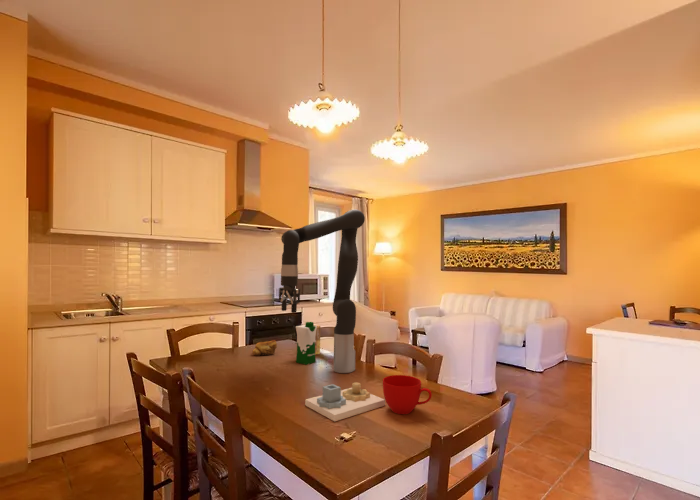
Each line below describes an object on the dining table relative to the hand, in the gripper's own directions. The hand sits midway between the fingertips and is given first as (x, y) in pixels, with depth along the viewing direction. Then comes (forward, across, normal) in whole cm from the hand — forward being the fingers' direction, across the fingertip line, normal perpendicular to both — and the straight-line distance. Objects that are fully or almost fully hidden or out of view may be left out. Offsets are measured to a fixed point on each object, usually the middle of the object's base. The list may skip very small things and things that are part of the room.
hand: (288, 311), depth 166 cm
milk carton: (+28, +14, -18) cm, 36 cm away
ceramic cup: (+28, -60, -11) cm, 67 cm away
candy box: (+28, +27, -31) cm, 49 cm away
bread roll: (+28, +41, -9) cm, 51 cm away
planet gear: (+26, -43, +8) cm, 51 cm away
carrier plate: (+28, -43, +2) cm, 51 cm away
